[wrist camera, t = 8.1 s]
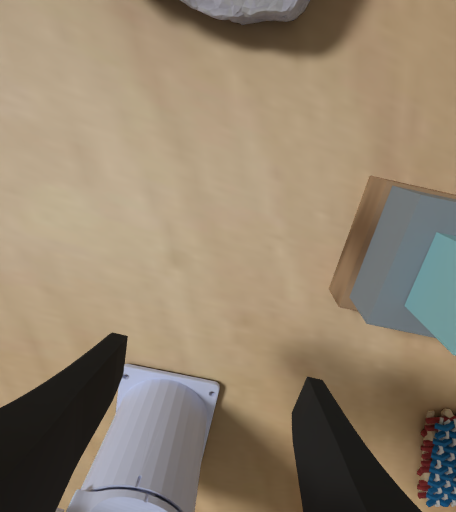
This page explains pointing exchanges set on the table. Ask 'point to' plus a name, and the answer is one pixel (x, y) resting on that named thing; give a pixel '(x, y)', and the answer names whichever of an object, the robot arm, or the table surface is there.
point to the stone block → (250, 9)
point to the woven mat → (438, 460)
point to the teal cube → (437, 291)
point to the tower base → (365, 235)
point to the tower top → (400, 257)
